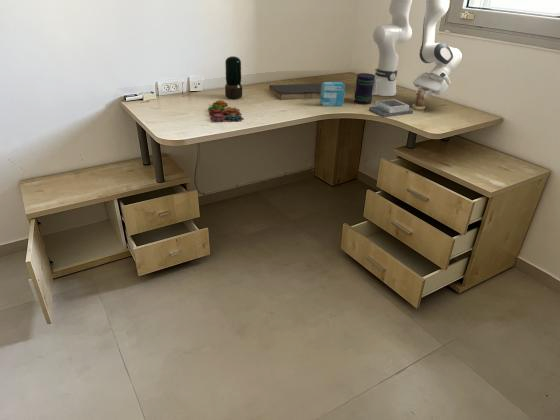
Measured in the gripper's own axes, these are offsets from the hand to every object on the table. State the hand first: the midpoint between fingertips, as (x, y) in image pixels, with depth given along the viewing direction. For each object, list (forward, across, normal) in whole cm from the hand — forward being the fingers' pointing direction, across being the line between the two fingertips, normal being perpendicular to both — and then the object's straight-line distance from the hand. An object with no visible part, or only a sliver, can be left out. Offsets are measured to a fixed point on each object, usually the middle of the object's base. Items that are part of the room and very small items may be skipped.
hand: (419, 95), depth 231 cm
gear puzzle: (+77, -28, -66) cm, 105 cm away
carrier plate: (+18, 0, -8) cm, 20 cm away
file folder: (+38, -48, -27) cm, 67 cm away
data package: (+35, -21, -25) cm, 48 cm away
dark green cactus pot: (+67, -52, -57) cm, 102 cm away
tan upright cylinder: (+4, 0, +5) cm, 7 cm away
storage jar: (+21, -20, -11) cm, 31 cm away
